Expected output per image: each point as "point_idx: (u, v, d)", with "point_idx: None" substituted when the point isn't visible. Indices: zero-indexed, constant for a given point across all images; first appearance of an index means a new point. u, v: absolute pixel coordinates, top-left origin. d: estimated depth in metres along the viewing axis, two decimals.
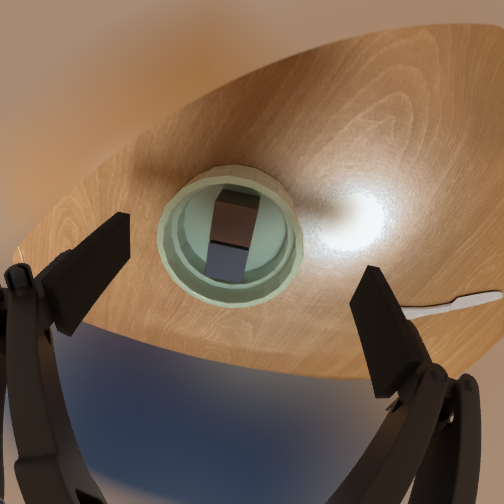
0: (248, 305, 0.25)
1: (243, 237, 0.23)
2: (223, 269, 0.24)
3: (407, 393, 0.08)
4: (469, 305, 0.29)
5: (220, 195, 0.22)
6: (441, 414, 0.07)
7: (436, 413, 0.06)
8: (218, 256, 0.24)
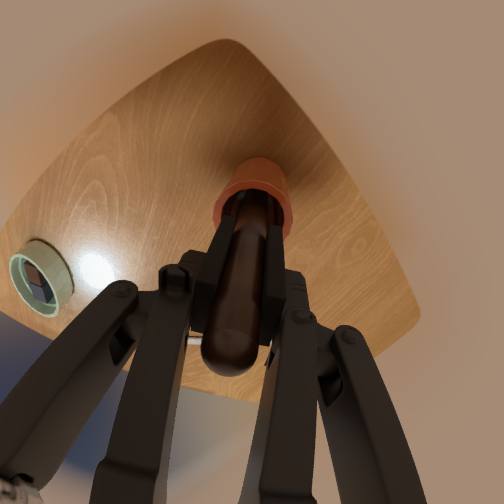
0: (50, 316, 0.35)
1: (37, 281, 0.32)
2: (38, 296, 0.34)
3: (276, 344, 0.10)
4: None
5: None
6: (319, 368, 0.09)
7: (313, 360, 0.08)
8: (34, 289, 0.33)
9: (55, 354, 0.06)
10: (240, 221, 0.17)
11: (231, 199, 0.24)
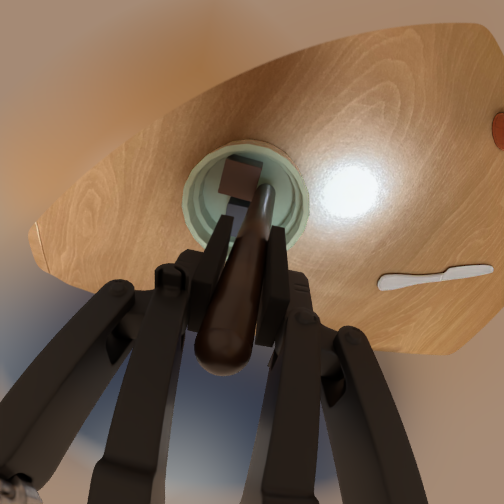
0: None
1: (247, 192, 0.26)
2: (239, 228, 0.28)
3: (279, 345, 0.10)
4: (461, 277, 0.33)
5: (230, 156, 0.26)
6: (322, 369, 0.09)
7: (316, 360, 0.08)
8: (235, 216, 0.27)
9: (52, 354, 0.06)
10: (241, 227, 0.17)
11: None
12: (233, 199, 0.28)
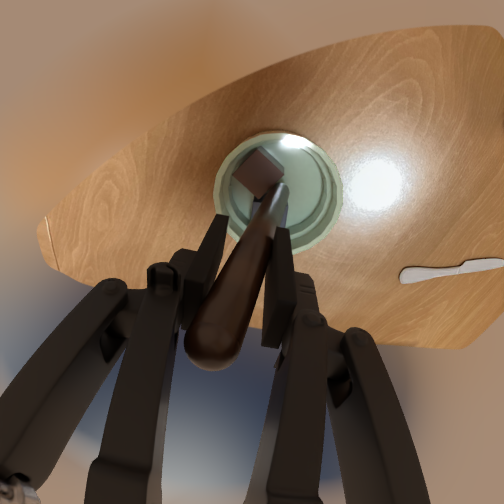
0: (292, 253, 0.28)
1: (259, 188, 0.25)
2: None
3: (286, 346, 0.10)
4: (476, 270, 0.32)
5: (259, 148, 0.25)
6: (329, 370, 0.09)
7: (323, 362, 0.08)
8: None
9: (47, 353, 0.06)
10: (250, 223, 0.17)
11: None
12: None
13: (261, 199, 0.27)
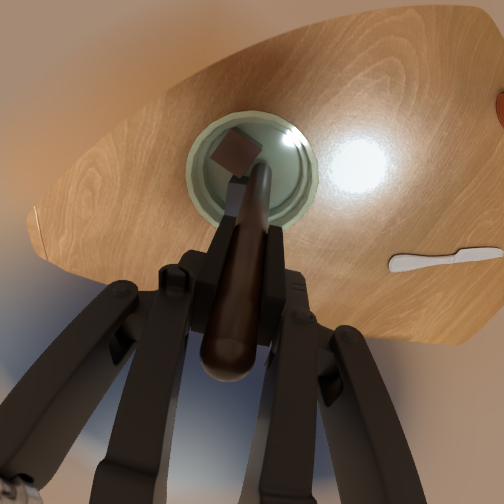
0: None
1: (239, 167, 0.25)
2: None
3: (276, 344, 0.10)
4: (472, 259, 0.31)
5: (234, 128, 0.24)
6: (319, 368, 0.09)
7: (313, 360, 0.08)
8: (237, 195, 0.26)
9: (55, 354, 0.06)
10: (248, 212, 0.16)
11: None
12: (234, 178, 0.27)
13: (237, 180, 0.26)
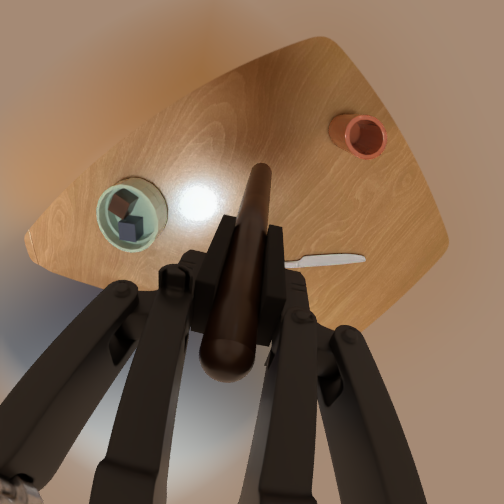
0: (139, 250, 0.44)
1: (121, 214, 0.42)
2: (126, 235, 0.44)
3: (276, 344, 0.10)
4: (322, 264, 0.48)
5: (119, 191, 0.42)
6: (319, 368, 0.09)
7: (313, 360, 0.08)
8: (123, 228, 0.43)
9: (55, 354, 0.06)
10: (248, 213, 0.16)
11: None
12: None
13: (124, 220, 0.44)
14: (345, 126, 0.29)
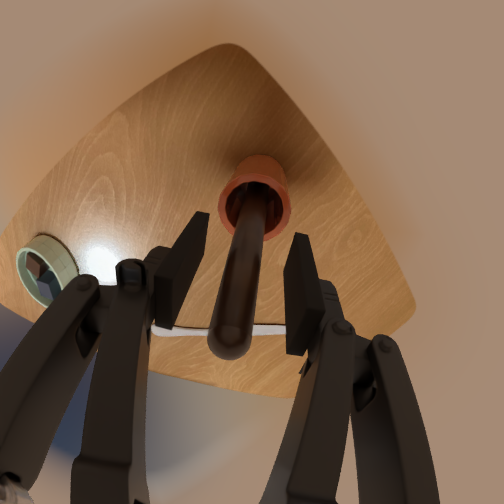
0: None
1: (36, 273, 0.34)
2: (44, 293, 0.36)
3: (314, 353, 0.10)
4: None
5: None
6: (355, 377, 0.09)
7: (350, 370, 0.07)
8: (40, 286, 0.36)
9: (26, 349, 0.05)
10: (248, 215, 0.19)
11: (234, 193, 0.26)
12: None
13: (41, 277, 0.36)
14: None
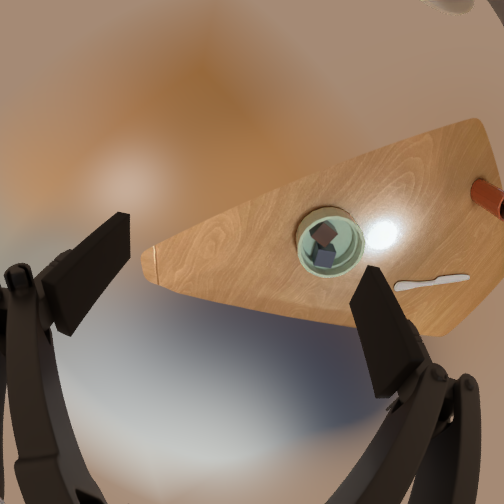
0: (336, 276, 0.49)
1: (325, 242, 0.47)
2: (323, 261, 0.49)
3: (407, 393, 0.08)
4: (446, 282, 0.53)
5: None
6: (441, 413, 0.07)
7: (436, 413, 0.06)
8: (322, 255, 0.48)
9: None
10: None
11: None
12: (319, 245, 0.49)
13: (322, 247, 0.49)
14: (498, 200, 0.34)
